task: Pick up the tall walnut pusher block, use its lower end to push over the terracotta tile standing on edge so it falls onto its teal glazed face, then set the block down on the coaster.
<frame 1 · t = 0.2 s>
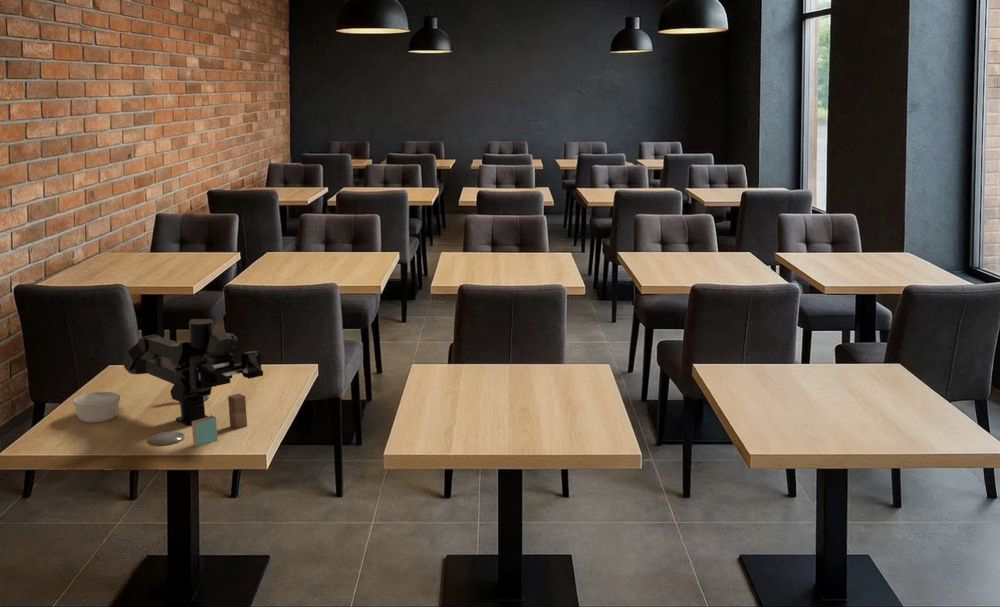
hand: (246, 377, 247), 16 cm above the table, tool horizontal, fingers open, 9 cm apart
ramekin: (98, 417, 270), on the table
pusher: (238, 426, 262), on the table
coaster: (167, 439, 253), on the table
tile: (205, 442, 251), on the table
lighter: (196, 399, 284), on the table
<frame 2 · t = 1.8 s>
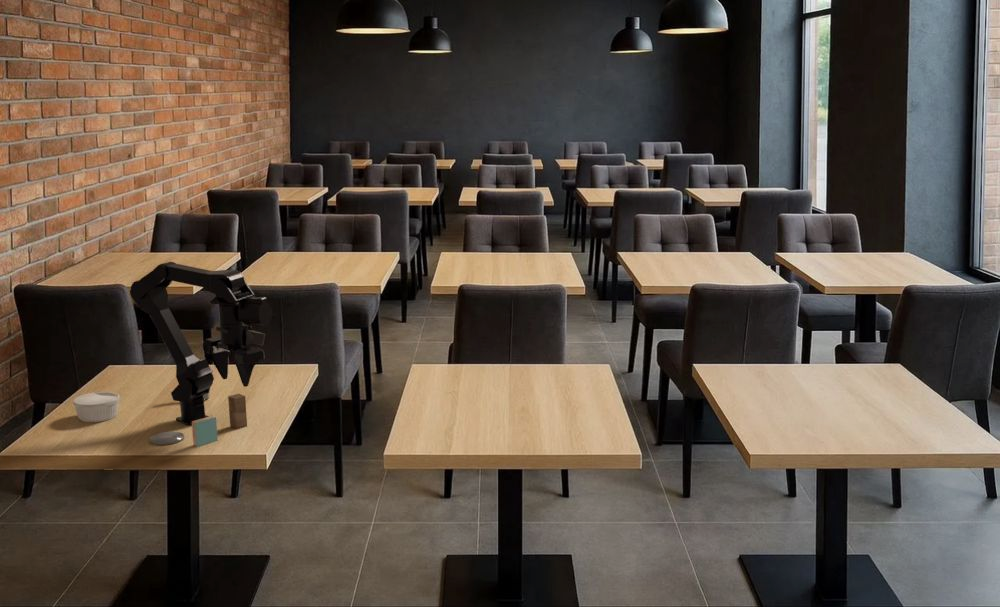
hand: (235, 382, 259), 11 cm above the table, tool pointing down, fingers open, 9 cm apart
nothing on the table moved.
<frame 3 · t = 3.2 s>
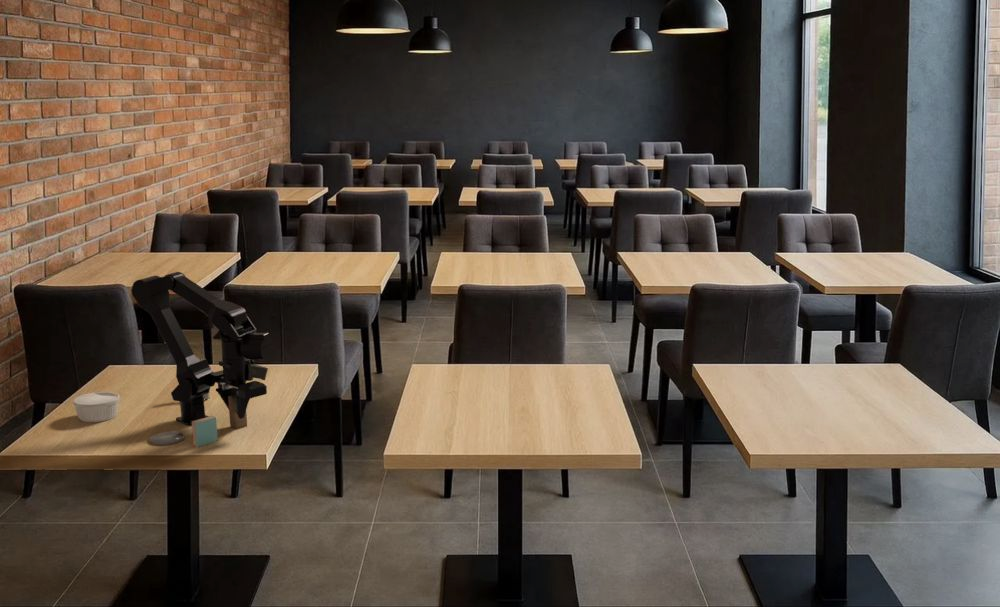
hand: (238, 416, 261), 3 cm above the table, tool pointing down, fingers closed on pusher, 3 cm apart
pusher: (238, 426, 262), on the table, touching gripper
everything else where it was.
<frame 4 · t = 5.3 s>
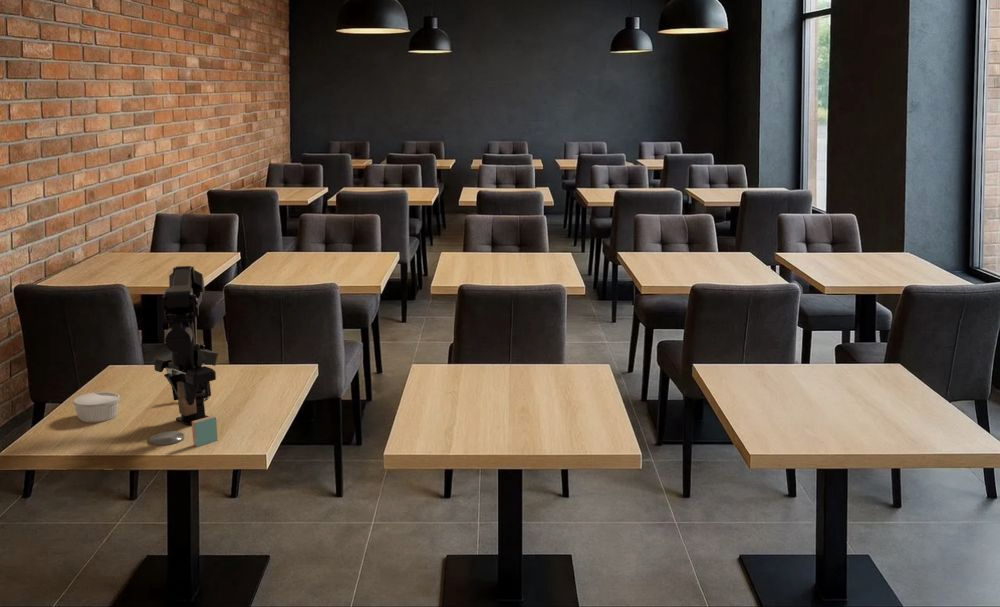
hand: (187, 403, 253), 8 cm above the table, tool pointing down, fingers closed on pusher, 3 cm apart
pusher: (188, 413, 254), point 6 cm above the table, touching gripper
everything else where it was.
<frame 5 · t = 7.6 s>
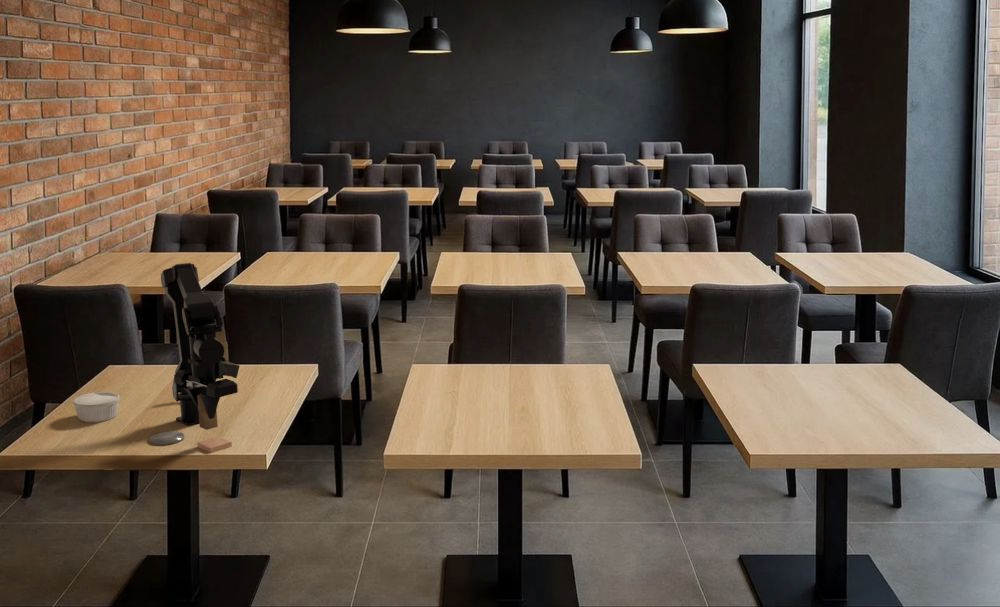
hand: (208, 416, 248), 7 cm above the table, tool pointing down, fingers closed on pusher, 3 cm apart
pusher: (208, 426, 248), point 5 cm above the table, touching gripper
tile: (207, 441, 250), on the table, tilted 90°
everything else where it was.
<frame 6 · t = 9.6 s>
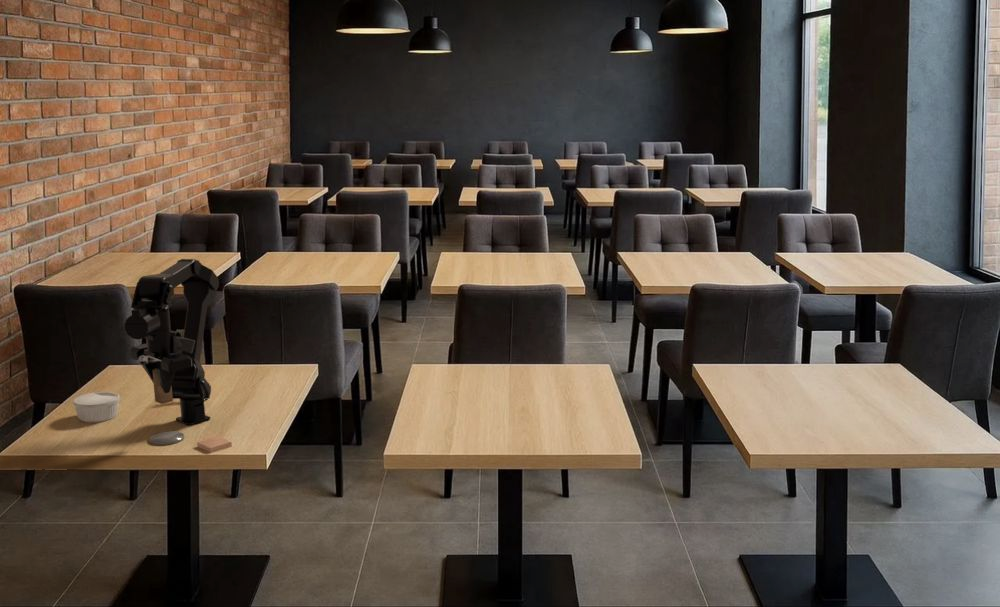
hand: (163, 391, 250), 12 cm above the table, tool pointing down, fingers closed on pusher, 3 cm apart
pusher: (164, 401, 251), point 10 cm above the table, touching gripper
everything else where it was.
when the fingers open (4 cm above the table, at t = 11.3 s): pusher stays where it is, resting on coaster.
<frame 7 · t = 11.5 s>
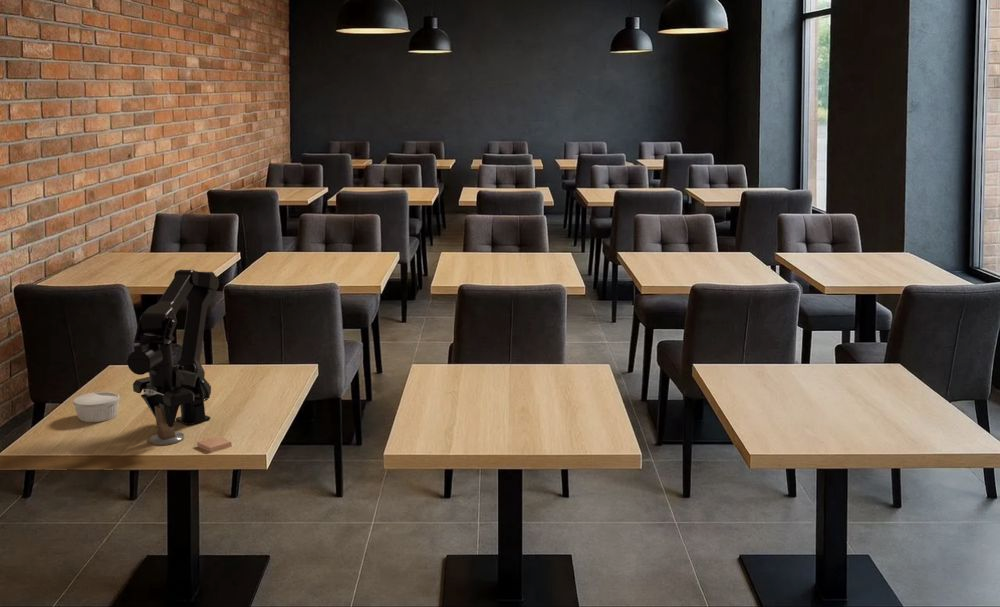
hand: (165, 424, 252), 4 cm above the table, tool pointing down, fingers open, 5 cm apart
pusher: (166, 437, 253), point 1 cm above the table, touching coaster
everything else where it was.
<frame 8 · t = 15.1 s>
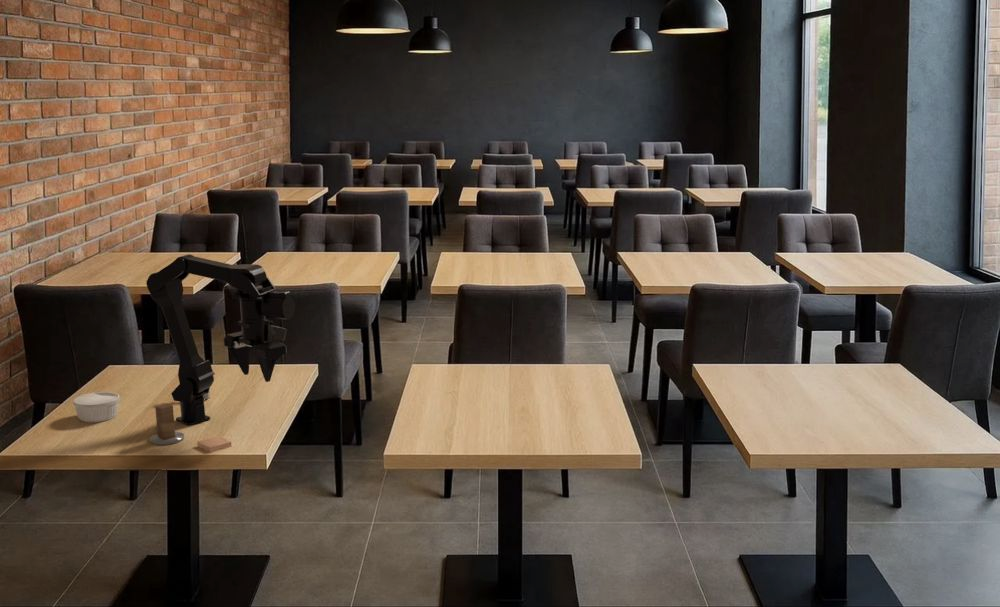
hand: (257, 378, 258), 13 cm above the table, tool pointing down, fingers open, 9 cm apart
nothing on the table moved.
at the end: tile tilted 90°; pusher 0.1 cm from the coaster (horizontally); the gripper is holding nothing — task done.
